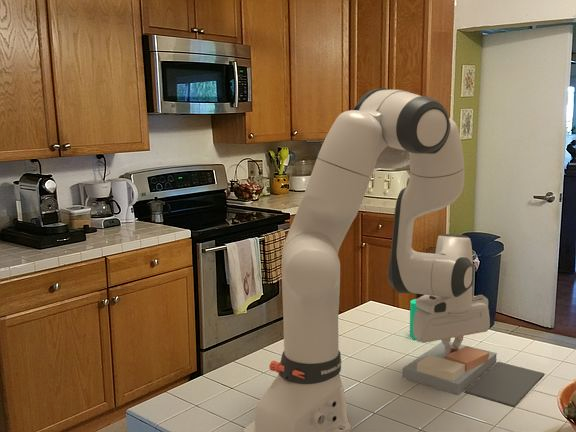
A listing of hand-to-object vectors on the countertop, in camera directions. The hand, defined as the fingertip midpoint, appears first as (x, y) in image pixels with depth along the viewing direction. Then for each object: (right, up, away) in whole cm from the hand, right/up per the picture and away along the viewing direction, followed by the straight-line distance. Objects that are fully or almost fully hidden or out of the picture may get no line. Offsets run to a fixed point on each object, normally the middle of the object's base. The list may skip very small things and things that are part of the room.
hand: (451, 353), depth 141 cm
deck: (-1, -4, -2) cm, 4 cm away
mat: (+10, -5, -9) cm, 14 cm away
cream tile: (-5, -2, -8) cm, 10 cm away
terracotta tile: (+3, -1, -3) cm, 4 cm away
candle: (-3, -1, +20) cm, 20 cm away
